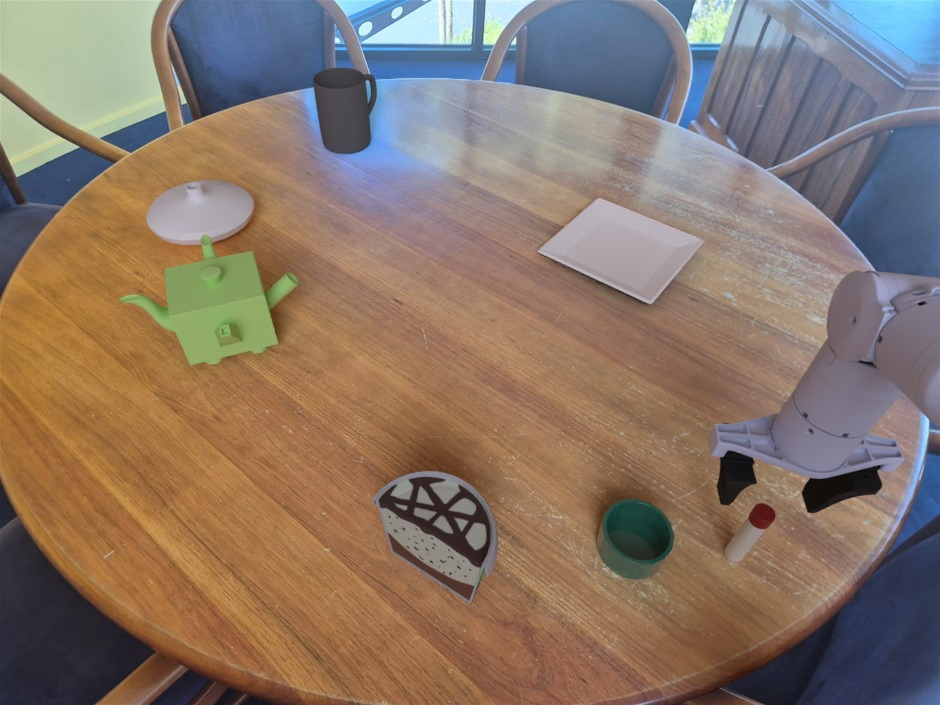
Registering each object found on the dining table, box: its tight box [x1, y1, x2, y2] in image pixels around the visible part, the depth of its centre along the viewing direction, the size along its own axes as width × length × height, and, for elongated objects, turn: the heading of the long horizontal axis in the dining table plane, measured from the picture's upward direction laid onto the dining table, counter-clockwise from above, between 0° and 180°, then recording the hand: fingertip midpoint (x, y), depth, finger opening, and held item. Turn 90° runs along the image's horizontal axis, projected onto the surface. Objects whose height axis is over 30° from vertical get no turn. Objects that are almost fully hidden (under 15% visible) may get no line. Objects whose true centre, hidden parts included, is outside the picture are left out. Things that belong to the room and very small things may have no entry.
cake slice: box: [371, 470, 499, 605], centre depth 58 cm, size 12×6×10 cm, turn 58°
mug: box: [312, 67, 378, 155], centre depth 113 cm, size 14×9×12 cm
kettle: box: [118, 235, 300, 366], centre depth 77 cm, size 15×14×11 cm
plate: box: [537, 197, 705, 306], centre depth 94 cm, size 19×19×2 cm
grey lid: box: [145, 179, 255, 246], centre depth 95 cm, size 16×16×7 cm
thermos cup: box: [596, 498, 676, 580], centre depth 61 cm, size 7×7×4 cm
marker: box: [723, 502, 777, 563], centre depth 59 cm, size 2×2×8 cm
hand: (765, 499), depth 56 cm, fingers open, 7 cm apart
